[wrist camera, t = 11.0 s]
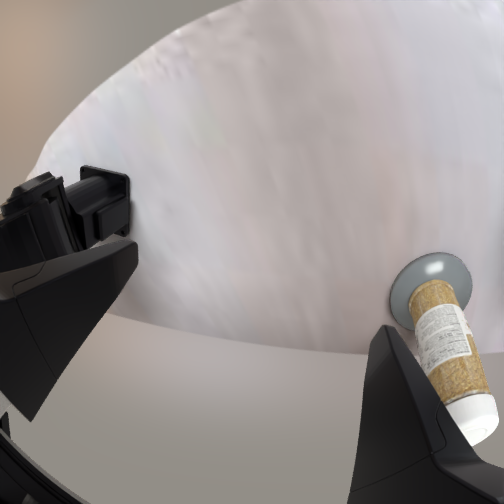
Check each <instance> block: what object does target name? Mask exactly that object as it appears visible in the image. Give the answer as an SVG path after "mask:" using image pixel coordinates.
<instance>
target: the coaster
mask: <svg viewBox="0 0 504 504" xmlns="http://www.w3.org/2000/svg"><path fill="white" fill-rule="evenodd" d="M431 280H443V281H446V282H448V283H449V284H450V285H451V286H452V288H453V290H454V293H455V297H456V299H457V301H458V303H459V306H460V308H461V309H462V311H463V310H464V309H465V307H466V305H467V304H468V302H469V299H470V297H471V293H472V278H471V275H470V272H469V271H468V269H467V267H466V266H465V264H464V263H463V262H462V261H461V260H460V259H459V258H458V257H456V256H454V255H452V254H449V253H440V252H438V253H431V254H427V255H424V256H421V257H419V258H417V259H415V260H414V261H412V262H411V263H409V264H408V265H407V266H406V267H405V268H404V269H403V270H402V271H401V272H400V273H399V275H398V276H397V278H396V279H395V281H394V283H393V285H392V288H391V293H390V304H391V309H392V313H393V316H394V318H395V319H396V321H397V322H398V323H399V324H400V325H402V326H403V327H405V328H407V329H409V330H412V331H415V327H414V322H413V318H412V316H411V314H410V311H409V306H408V303H409V300H410V297H411V295H412V293H413V292H414V290H415V289H416V288H417V287H419V286H420V285H421V284H423V283H425V282H428V281H431Z"/></svg>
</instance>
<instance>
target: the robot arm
mask: <svg viewBox="0 0 504 504" xmlns="http://www.w3.org/2000/svg"><path fill="white" fill-rule="evenodd" d="M84 170H85V171H84ZM123 179H124V181H123ZM63 182H64V181H63V177H62V176H60V177H57V178H55V177H54V176H53V175H52V174H51V173H50V172H46V173H44V174H42V175H39V176H37V177H35V178H33V179H31V180H29V181H27V182H25V183H23V184H21V185H19V186H17V187H15V188H14V189H13V191H12V194H11V197H9V198H8V199H7V201H6V202H5V203H3V204H2V205H1V206H0V208H1V211H2V213H1V214H0V504H90V503H88V502H87V501H85V500H84V499H82V498H81V497H79V496H78V495H76V494H75V493H74V492H72V491H71V490H69V489H68V488H67V487H65V486H64V485H63V484H61V483H60V482H59V481H57V480H56V479H55V478H53V477H52V476H51V475H50V474H48V473H47V472H46V471H45V470H43V469H42V468H41V467H40V466H39V465H38V464H36V463H35V462H34V461H33V460H32V459H31V458H30V457H29V456H27V455H26V454H25V453H24V452H23V451H22V450H21V449H20V448H19V447H18V446H17V445H16V444H15V443H14V442H13V441H12V440H11V437H10V429H9V418H8V413H7V412H6V410H7V409H8V408H9V406H10V405H11V404H12V405H13V406H14V407H15V408H16V409H17V410H18V411H19V412H20V413H21V414H22V415H23V416H24V417H25V418H26V419H27V420H28V421H30V422H31V421H32V420H33V419H34V417H35V415H36V414H37V412H38V410H39V409H40V407H41V406H42V404H43V402H44V401H45V399H46V398H47V396H48V394H49V393H50V391H51V389H52V388H53V386H54V384H55V383H56V382H57V379H59V377H60V376H61V374H62V373H63V371H64V369H65V368H66V367H67V365H68V364H69V362H70V361H71V359H72V358H73V357H74V355H75V354H76V352H77V351H78V349H79V348H80V347H81V345H82V344H83V342H84V341H85V340H86V338H87V337H88V335H89V334H90V333H91V331H92V330H93V329H94V327H95V326H96V324H97V323H98V322H99V321H100V319H101V318H102V317H103V315H104V314H105V313H106V311H107V310H108V309H109V307H110V306H111V305H112V304H113V302H114V301H115V300H116V298H117V297H118V295H119V294H120V292H121V291H122V289H123V288H124V286H125V284H126V283H127V281H128V280H129V278H130V277H131V275H132V274H133V272H134V270H135V269H136V267H137V265H138V244H137V243H136V242H135V241H132V240H129V239H126V240H122V241H118V242H114V243H110V244H106V245H103V246H99V247H95V248H91V247H92V246H94V245H95V244H96V243H98V242H99V241H103V240H105V239H106V238H108V237H109V236H110V235H112V234H113V233H114V234H117V235H119V236H122V237H126V236H127V235H128V234H129V178H128V176H127V175H126V174H122V173H118V172H114V171H109V170H105V169H101V168H96V167H92V166H87V165H84V166H82V167H81V168H80V181H79V182H76V183H74V184H72V185H70V186H68V187H66V188H64V185H63ZM124 232H125V233H124ZM90 248H91V249H90ZM347 504H504V468H501V467H498V466H495V465H492V464H489V463H487V462H485V461H483V460H482V459H481V458H480V457H478V455H477V454H476V453H475V451H474V450H473V448H472V447H471V445H470V444H469V442H468V441H467V439H466V438H465V436H464V435H463V433H462V432H461V430H460V429H459V427H458V426H457V424H456V423H455V421H454V420H453V418H452V416H451V415H450V413H449V411H448V410H447V408H446V407H445V405H444V403H443V401H441V398H440V397H439V395H438V393H437V392H436V390H435V388H434V387H433V385H432V384H431V382H430V380H429V379H428V377H427V376H426V374H425V373H424V371H423V369H422V368H421V367H420V365H419V363H418V362H417V360H416V359H415V357H414V356H413V354H412V353H411V351H410V350H409V348H408V347H407V345H406V344H405V342H404V341H403V339H402V338H401V336H400V335H399V333H398V332H397V331H396V329H395V328H394V327H392V326H389V325H382V326H381V328H380V329H379V331H378V332H377V334H376V335H375V336H374V338H373V339H372V341H371V344H370V349H369V355H368V362H367V368H366V374H365V381H364V389H363V401H362V413H361V422H360V431H359V438H358V446H357V453H356V460H355V466H354V472H353V477H352V483H351V487H350V493H349V496H348V501H347Z"/></svg>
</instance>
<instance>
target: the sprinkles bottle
mask: <svg viewBox="0 0 504 504" xmlns="http://www.w3.org/2000/svg"><path fill="white" fill-rule="evenodd" d="M408 306H409V311H410V314H411V316H412V318H413V322H414V327H415V336H416V341H417V346H418V351H419V356H420V362H421V368H422V369H423V371H424V373H425V374H426V376H427V377H428V379H429V380H430V382H431V384H432V385H433V387H434V388H435V390H436V392H437V393H438V395H439V397H440V398H441V401H443V403H444V405H445V407H446V408H447V410H448V411H449V413H450V415H451V416H452V418H453V420H454V421H455V423H456V424H457V426H458V427H459V429H460V430H461V432H462V433H463V435H464V436H465V438H466V439H467V441H468V442H469V444H470V445H471V446H473V445H475V444H477V443H479V442H481V441H482V440H484V439H485V438H486V437H488V436H489V435H490V434H491V433H492V432H493V431H494V430H495V429H496V427H497V425H498V422H499V418H498V412H497V408H496V403H495V400H494V397H493V396H491V393H490V391H489V387H488V385H487V381H486V377H485V374H484V370H483V367H482V364H481V360H480V358H479V354H478V351H477V348H476V345H475V343H474V338H473V335H472V332H471V330H470V327H469V325H468V322H467V320H466V317H465V315H464V313H463V311H462V309H461V308H460V306H459V303H458V301H457V299H456V297H455V293H454V290H453V288H452V286H451V285H450V284H449V283H448V282H446V281H443V280H431V281H428V282H425V283H423V284H421V285H420V286H419V287H417V288H416V289H415V290H414V292H413V293H412V295H411V297H410V300H409V303H408Z"/></svg>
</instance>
